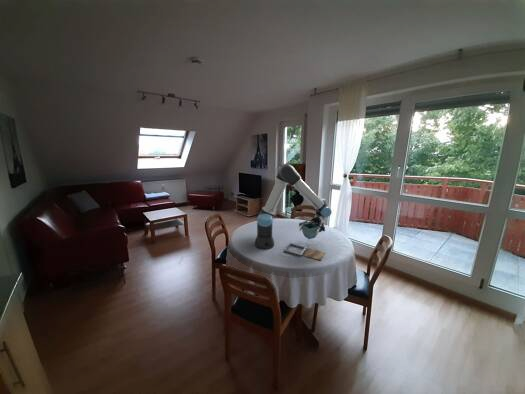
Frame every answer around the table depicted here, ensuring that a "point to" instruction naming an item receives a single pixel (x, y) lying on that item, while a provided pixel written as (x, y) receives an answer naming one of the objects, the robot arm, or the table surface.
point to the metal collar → (295, 252)
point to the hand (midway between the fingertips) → (308, 230)
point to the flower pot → (309, 230)
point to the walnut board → (314, 254)
